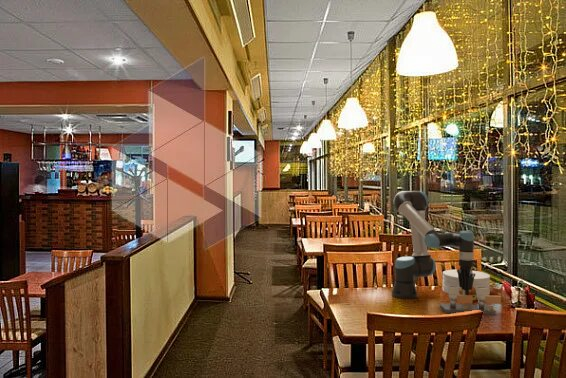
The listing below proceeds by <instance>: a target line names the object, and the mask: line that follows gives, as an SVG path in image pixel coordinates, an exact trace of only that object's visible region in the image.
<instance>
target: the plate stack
mask: <svg viewBox="0 0 566 378" xmlns="http://www.w3.org/2000/svg"><path fill="white" fill-rule="evenodd" d="M457 270H458V269H447V270H444V271H442V291H443V292H444V293H446V294H447V295H449V293H448V286H457V287H458V292H459V290H460V289H461V287H460V286H459V278H458V273H457ZM472 272H473V274H475V277H474V281H473V287H474V288H475V290H476V287H485V288H487V295H490V294H491V293H490V292H491V291H490V290H491V288H490V287H491V284H490V283H491V275H490V274H489V273H486V272H483V271H477V270H472ZM457 295H460V293H458V294H457Z"/></svg>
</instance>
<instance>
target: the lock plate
mask: <svg viewBox="0 0 566 378" xmlns="http://www.w3.org/2000/svg"><path fill="white" fill-rule="evenodd" d="M439 308H440V309H441V310H442V312H443V313H444V314H454V313H456V312H464V311H472V310H481V311H483V312H484V314H483V315H487V316H488V315H490V316H491V315H492V316H493V315H494V316H497V315H496V314H497V311H496V310H495V309H494V306H490V305H488V304H485V303H484V301H481V300H478V301H477V304H476V303H475V304H471V303H457V302H456V300H451V299H449V303H439Z"/></svg>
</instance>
